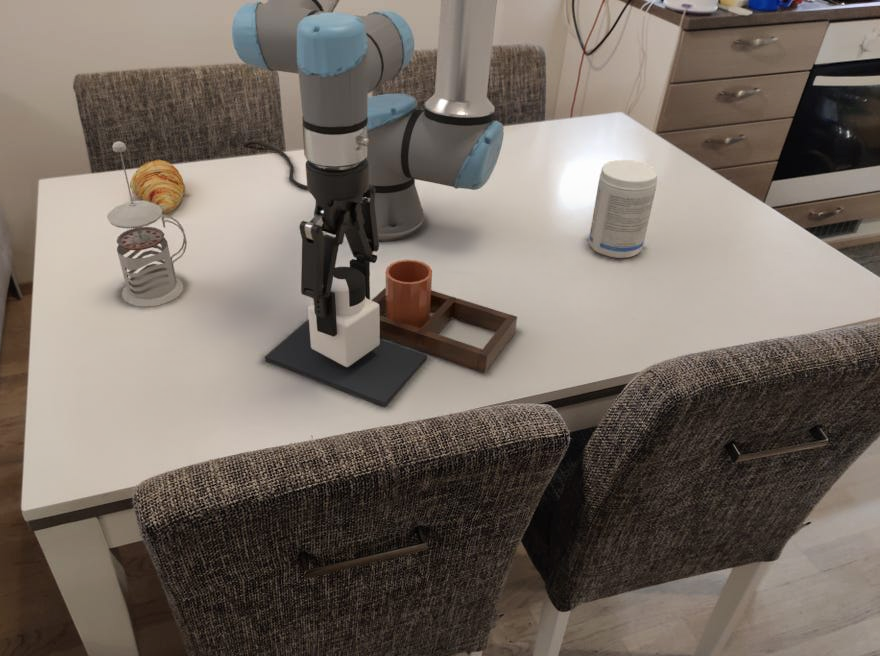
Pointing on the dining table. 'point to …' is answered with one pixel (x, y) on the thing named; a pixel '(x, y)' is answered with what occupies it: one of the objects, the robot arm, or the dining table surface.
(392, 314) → the terracotta cup
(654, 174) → the supplement tub
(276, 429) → the dining table surface
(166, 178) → the croissant
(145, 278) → the french press
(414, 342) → the cup holder
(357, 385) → the mat
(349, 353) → the medicine bottle
